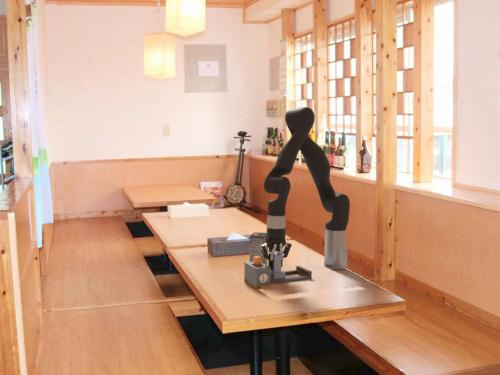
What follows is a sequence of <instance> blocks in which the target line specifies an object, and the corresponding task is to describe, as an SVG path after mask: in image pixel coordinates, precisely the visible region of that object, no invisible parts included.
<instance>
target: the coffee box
mask: <svg viewBox="0 0 500 375" xmlns="http://www.w3.org/2000/svg"><path fill="white" fill-rule="evenodd" d="M266 241H267V232H259V231H257V232H256V231H255V232H253V233H252V234H251V235H250V236H249V262H253V258H254V256H261V257H262V263H263V264H265V265H267V266H268V259H266V258H264V256H263V254H262V251H261V249H260V245H263V244H265V243H266ZM266 250H267V253H268V250H269V248H268V247H267V249H266Z"/></svg>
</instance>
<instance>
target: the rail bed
mask: <svg viewBox="0 0 500 375" xmlns="http://www.w3.org/2000/svg"><path fill="white" fill-rule="evenodd" d="M295 270H297V274H287V275H286V277H285V278H291V277H300V276H309V279H306V280H305V281H308V280H313V279H312V277H313V276H312V273H313V271H311V270H309V269H307V268H305V267H303V266H301V265H295ZM243 280H244V281H243V282H244V283H245V282H246V284H247V285H249V286H251V287H252V288H254V289H255V288H256V289H255V290H260V289H261V290H262V289H263V287H262V286H261V285H255V284H253V283H251V282H250V281H248V280H246V279H245V278H244V279H243ZM298 281H301V280H297V281H296V282H298ZM289 282H292V281H289ZM289 282H288V283H289ZM280 283H281V284H283V282H280ZM280 283H279V284H280ZM271 284H273V285H274V284H275V283H271ZM271 284H270V285H271ZM265 285H266V284H264V285H263V286H265Z"/></svg>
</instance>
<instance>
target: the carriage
mask: <svg viewBox="0 0 500 375" xmlns="http://www.w3.org/2000/svg"><path fill="white" fill-rule="evenodd" d="M273 261H274V262H273V269H272V270H271V271H270V280H274V279H282V278H285V277H286V273H285V272H283V271H284V270H282V267H281V254H278V253H277V252H275V255H274V257H273Z"/></svg>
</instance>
